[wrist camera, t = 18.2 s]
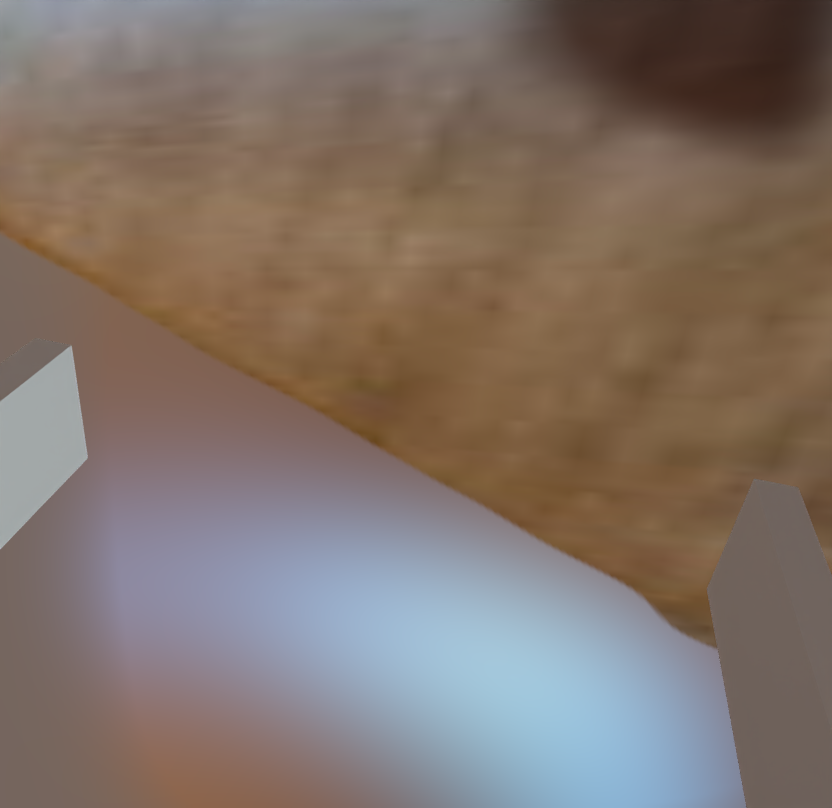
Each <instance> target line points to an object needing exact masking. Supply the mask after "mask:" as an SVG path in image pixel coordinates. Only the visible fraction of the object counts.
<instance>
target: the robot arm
mask: <svg viewBox="0 0 832 808" xmlns="http://www.w3.org/2000/svg"><path fill="white" fill-rule="evenodd" d="M87 458H88V456H87V450H86V442H85V436H84V428H83V422H82V415H81V408H80V401H79V394H78V387H77V381H76V374H75V366H74V359H73V352H72V346H71V345H68V344H63V343H58V342H53V341H48V340H43V339H37V338H35V339H33V340H32V341H31V342H29V343H28V344H27V345H25V346H24V347H22V348H21V349H20V350H18V351H17V352H16V353H14V354H13V355H11V356H10V357H9V358H7V359H6V360H5V361H3V362H2V363H0V549H1V548H2V547H3V546H4V545H5V544H6V543H7V542H8V541H9V540H10V539H11V537H12V536H13V535H14V534H15V533H16V532H17V531H18V530H19V529H20V528H21V527H22V526H23V525H24V524H25V523H26V522H27V521H28V520H29V519H30V518H31V517H32V516H33V514H34V513H35V512H36V511H37V510H38V509H39V508H40V507H41V506H42V505H43V504H44V503H45V502H46V501H47V500H48V499H49V498H50V497H51V496H52V495H53V494H54V493H55V492H56V490H57V489H59V488H60V486H61V485H62V484H63V483H64V482H65V481H66V480H67V479H68V478H69V477H70V476H71V475H72V474H73V473H74V472H75V471H76V470H77V468H79V467H80V466H81V465H82V463H84V461H85V460H86V459H87ZM707 592H708V598H709V603H710V609H711V614H712V620H713V625H714V631H715V636H716V642H717V647H718V653H719V658H720V664H721V669H722V675H723V680H724V686H725V692H726V697H727V702H728V708H729V714H730V719H731V725H732V730H733V735H734V741H735V747H736V752H737V758H738V763H739V769H740V774H741V779H742V785H743V791H744V796H745V802H746V807H747V808H832V575H831V573H830V570H829V567H828V565H827V562H826V560H825V557H824V554H823V552H822V549H821V546H820V544H819V541H818V538H817V536H816V533H815V531H814V528H813V525H812V523H811V520H810V517H809V515H808V512H807V510H806V507H805V504H804V502H803V499H802V496H801V494H800V491H799V488H798V487H793V486H788V485H783V484H778V483H773V482H768V481H763V480H757V479H754V480H753V483H752V485H751V487H750V490H749V492H748V494H747V497H746V499H745V501H744V504H743V506H742V508H741V511H740V513H739V515H738V518H737V520H736V522H735V525H734V527H733V529H732V532H731V534H730V536H729V539H728V541H727V543H726V546H725V548H724V550H723V553H722V555H721V557H720V560H719V562H718V564H717V567H716V569H715V571H714V574H713V576H712V578H711V581H710V583H709V585H708V588H707Z"/></svg>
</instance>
